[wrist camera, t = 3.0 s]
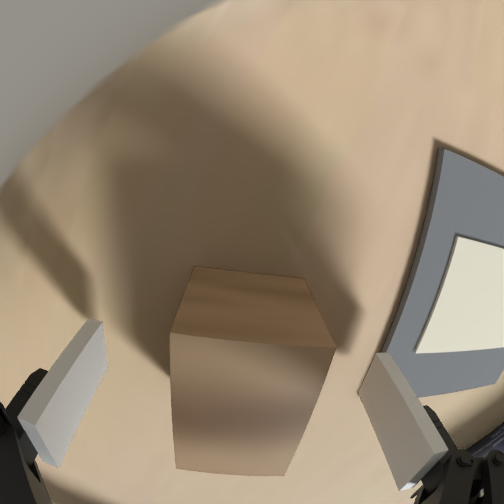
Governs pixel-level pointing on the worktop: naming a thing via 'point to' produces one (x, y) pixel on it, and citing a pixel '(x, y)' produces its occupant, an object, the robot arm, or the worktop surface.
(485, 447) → the small box
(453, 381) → the mat
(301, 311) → the block
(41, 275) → the worktop surface
